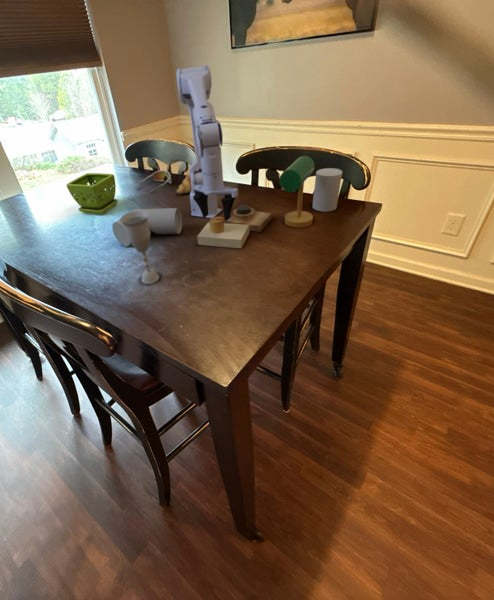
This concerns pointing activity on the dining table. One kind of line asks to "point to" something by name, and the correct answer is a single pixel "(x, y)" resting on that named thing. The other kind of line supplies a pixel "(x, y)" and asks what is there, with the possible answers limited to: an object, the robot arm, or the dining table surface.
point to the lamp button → (243, 209)
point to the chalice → (140, 240)
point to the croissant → (185, 186)
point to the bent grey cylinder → (153, 223)
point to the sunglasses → (159, 178)
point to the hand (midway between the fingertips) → (216, 217)
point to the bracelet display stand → (290, 183)
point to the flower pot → (94, 192)
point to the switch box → (251, 219)
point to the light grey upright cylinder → (326, 189)
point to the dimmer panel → (224, 236)
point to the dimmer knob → (217, 224)
